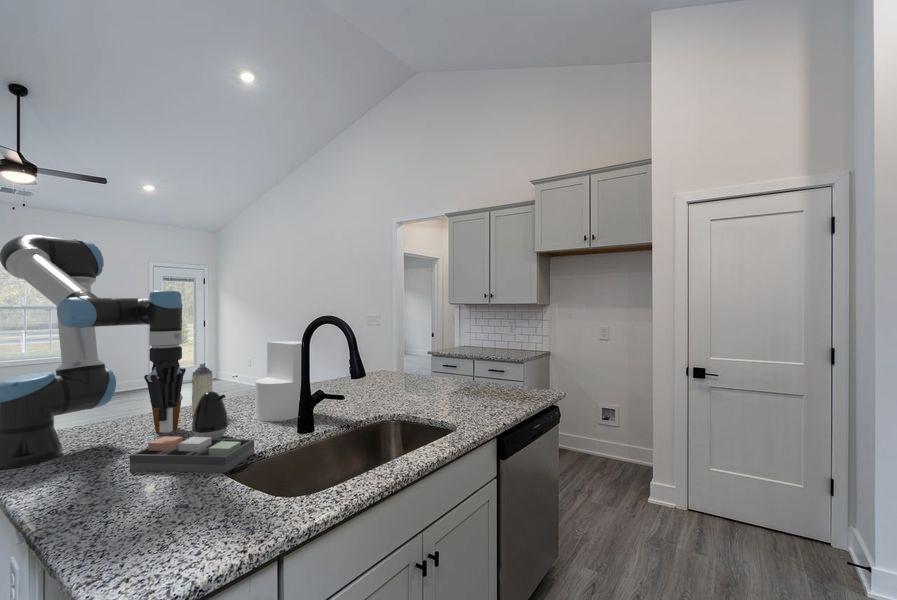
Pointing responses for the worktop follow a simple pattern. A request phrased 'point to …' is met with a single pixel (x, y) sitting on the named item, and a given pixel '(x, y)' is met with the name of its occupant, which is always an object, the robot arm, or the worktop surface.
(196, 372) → the aerosol can
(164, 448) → the key terracotta
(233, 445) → the key sage
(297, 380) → the white toilet
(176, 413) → the disposable coffee cup
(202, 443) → the key grey
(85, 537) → the worktop surface
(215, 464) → the grey compartment tray
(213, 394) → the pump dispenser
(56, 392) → the robot arm
